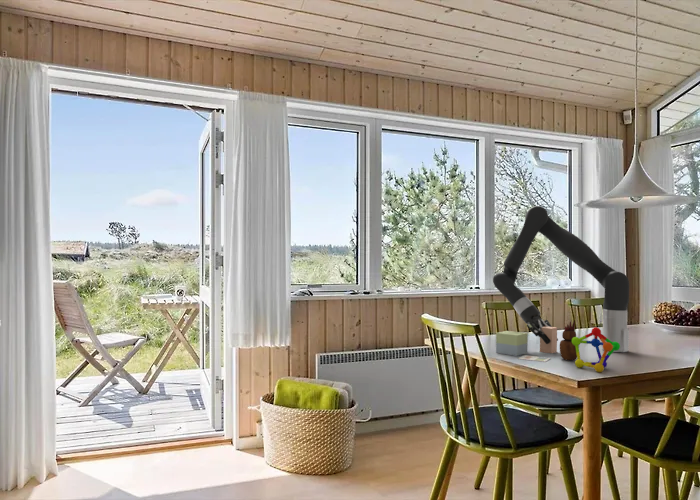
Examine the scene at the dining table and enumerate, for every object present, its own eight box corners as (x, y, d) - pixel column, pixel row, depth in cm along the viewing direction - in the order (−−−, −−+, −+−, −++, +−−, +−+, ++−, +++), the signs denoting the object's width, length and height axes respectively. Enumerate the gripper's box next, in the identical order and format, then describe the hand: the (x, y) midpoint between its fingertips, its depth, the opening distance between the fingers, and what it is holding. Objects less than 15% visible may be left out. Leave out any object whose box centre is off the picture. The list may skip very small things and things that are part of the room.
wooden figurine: (578, 359, 213) (578, 320, 213) (579, 361, 208) (579, 321, 208) (559, 357, 215) (559, 319, 215) (559, 360, 210) (560, 320, 210)
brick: (556, 351, 228) (557, 327, 229) (551, 353, 225) (551, 328, 225) (545, 350, 232) (545, 326, 232) (539, 351, 228) (540, 327, 228)
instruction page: (550, 358, 213) (550, 357, 213) (545, 361, 206) (545, 361, 206) (524, 355, 219) (524, 354, 219) (518, 358, 212) (518, 357, 212)
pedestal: (527, 353, 225) (527, 333, 225) (516, 355, 218) (517, 335, 218) (506, 350, 231) (507, 330, 231) (496, 352, 224) (496, 332, 224)
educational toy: (623, 372, 195) (628, 330, 194) (606, 377, 187) (611, 333, 186) (580, 361, 207) (585, 321, 206) (563, 365, 198) (567, 324, 197)
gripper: (523, 305, 229) (549, 338, 220) (541, 303, 239) (567, 334, 230) (511, 317, 233) (537, 349, 224) (530, 314, 243) (555, 346, 234)
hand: (552, 341), depth 227 cm, fingers closed on brick, 5 cm apart
